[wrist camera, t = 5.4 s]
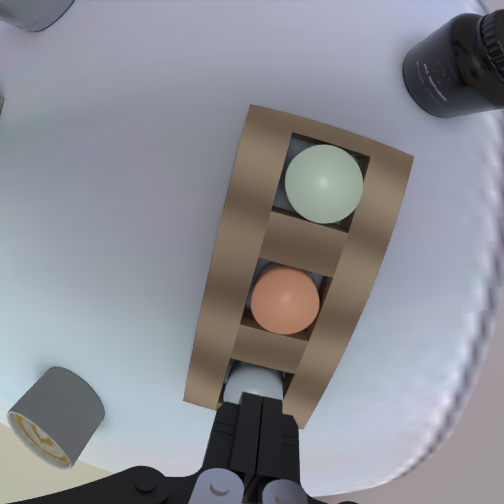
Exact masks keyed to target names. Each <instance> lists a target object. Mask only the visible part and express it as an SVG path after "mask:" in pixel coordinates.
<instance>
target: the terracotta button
mask: <svg viewBox="0 0 504 504" xmlns="http://www.w3.org/2000/svg"><path fill="white" fill-rule="evenodd" d="M251 309H252V313H253V316H254V317H255V319H256V321H257V322H258V323H259V324H260V325H261V326H262V327H263V328H265V329H266V330H268V331H271V332H273V333H277V334H293V333H296V332H299V331H301V330H303V329H305V328H306V327H308V326H309V325H310V324H311V323H312V322H313V320H314V319H315V317H316V315H317V313H318V310H319V296H318V292H317V289H316V285H315V281H314V278H313V276H312V274H311V273H310V271H306V270H302V269H299V268H295V267H291V266H288V265H284V264H280V263H277V262H273V263H270V264H269V265H267V266H266V267H264V268H263V269H262V270H261V271H260V273H259V274H258V276H257V278H256V281H255V285H254V289H253V294H252V298H251Z"/></svg>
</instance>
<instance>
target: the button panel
mask: <svg viewBox="0 0 504 504" xmlns="http://www.w3.org/2000/svg"><path fill="white" fill-rule="evenodd" d="M291 137H294V138H298V139H301V140H305V141H308V142H312V143H315V144H318V145H331V146H335V147H338V148H340V149H342V150H344V151H345V152H347V153H348V154H350V155H353V156H355V157H358V158H360V159H359V163H358V166H359V168H360V171H361V174H362V178H363V192H362V196H361V199H360V201H359V203H358V205H357V207H356V208H355V209H354V210H353V212H352V213H351V214H349V215H348V216H347V217H345V218H344V219H342V222H341V225H337V224H334V223H317V222H313V221H310V220H308V219H306V218H304V217H303V216H301V215H300V214H299V213H296V212H293V211H289V210H285V209H282V208H278V207H275V206H273V202H274V198H275V195H276V191H277V187H278V184H279V180H280V176H281V173H282V169H283V165H284V161H285V158H286V154H287V150H288V147H289V143H290V139H291ZM413 159H414V156H412V155H409V154H407V153H404V152H402V151H400V150H397V149H395V148H392V147H390V146H387V145H384V144H382V143H379V142H377V141H374V140H371V139H369V138H366V137H363V136H360V135H357V134H354V133H352V132H349V131H346V130H343V129H340V128H337V127H333V126H330V125H327V124H324V123H321V122H317V121H314V120H310V119H307V118H303V117H300V116H296V115H293V114H289V113H285V112H281V111H277V110H273V109H269V108H265V107H261V106H256V105H252V104H250V107H249V111H248V115H247V118H246V122H245V126H244V129H243V133H242V137H241V141H240V144H239V148H238V152H237V156H236V160H235V164H234V168H233V172H232V176H231V180H230V184H229V188H228V192H227V196H226V200H225V204H224V208H223V212H222V216H221V221H220V225H219V229H218V233H217V238H216V242H215V246H214V251H213V255H212V260H211V264H210V269H209V273H208V278H207V282H206V287H205V292H204V296H203V301H202V306H201V311H200V315H199V320H198V325H197V330H196V335H195V340H194V345H193V350H192V355H191V361H190V366H189V371H188V377H187V382H186V388H185V393H184V399H183V401H185V402H188V403H192V404H195V405H198V406H202V407H205V408H209V409H212V410H216V411H217V409H218V408H219V407H220V406H221V405H222V404H223V403H224V399H223V396H224V392H225V388H226V384H225V383H223V382H224V378H225V375H226V371H227V368H228V364H229V361H230V358H232V359H236V360H240V361H243V362H247V363H251V364H255V365H259V366H263V367H267V368H272V369H276V370H280V371H285V372H287V373H286V375H285V378H284V380H283V409H282V413H283V414H288V415H293V417H294V419H295V421H296V423H297V424H298V429H304V427H305V425H306V424H307V422H308V420H309V418H310V417H311V415H312V413H313V411H314V410H315V408H316V406H317V404H318V402H319V401H320V399H321V397H322V395H323V393H324V391H325V389H326V387H327V386H328V384H329V382H330V380H331V378H332V376H333V374H334V372H335V370H336V368H337V366H338V364H339V362H340V360H341V358H342V356H343V354H344V351H345V349H346V347H347V345H348V343H349V341H350V339H351V336H352V334H353V332H354V330H355V327H356V325H357V323H358V321H359V318H360V316H361V314H362V311H363V309H364V307H365V304H366V302H367V299H368V297H369V294H370V292H371V289H372V287H373V284H374V282H375V279H376V277H377V274H378V271H379V269H380V266H381V263H382V261H383V258H384V255H385V252H386V249H387V247H388V244H389V241H390V238H391V235H392V232H393V229H394V226H395V223H396V219H397V216H398V213H399V210H400V206H401V203H402V200H403V196H404V193H405V189H406V186H407V182H408V178H409V175H410V171H411V167H412V163H413ZM258 258H262V259H266V260H269V261H273V262H277V263H280V264H284V265H288V266H291V267H295V268H299V269H302V270H306V271H310V272H313V273H317V274H321V275H324V276H323V279H322V282H321V285H320V288H319V290H318V296H319V310H318V313H317V315H316V317H315V319H314V320H313V322H312V323H311V324H310V325H309V326H308V327H306V328H305V329H303V330H301V331H299V332H296V333H293V334H277V333H273V332H271V331H268V330H266V329H265V328H263V327H262V326H261V325H260V324H259V323H258V322H257V321H256V319H255V317H254V316H253V313H252V310H251V309H247V308H244V307H245V304H246V300H247V296H248V293H249V289H250V286H251V282H252V278H253V275H254V271H255V268H256V264H257V260H258Z"/></svg>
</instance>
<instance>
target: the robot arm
mask: <svg viewBox="0 0 504 504" xmlns="http://www.w3.org/2000/svg"><path fill="white" fill-rule="evenodd" d="M72 2H73V0H0V21H3V22H6V23H9V24H11V25H14V26H16V27H19V28H21V29H25V30H28V31H31V32H36V31H40V30H42V29H44V28H46V27H48V26H49V25H50V24H52V23H53V22H55V21H56V20H57V19H58V18H59V17H60V16H61V15H62V14H63V13H64V12H65V11H66V10H67V8H68V7H69V6H70V5H71V3H72ZM282 409H283V402H282V400H280V399H275V398H270V397H266V396H261V395H256V394H252V393H248V392H243V391H242V393H241V396H240V399H239V402H238V404H235V403H231V402H227V401H225V402H224V403H223V404H222V405H221V406H220V407H219V408H218V409H217V412H216V416H215V419H214V423H213V426H212V430H211V433H210V437H209V441H208V445H207V449H206V453H205V457H204V460H203V464H202V467H201V469H200V470H199V471H198V472H196V473H195V474H193V475H190V476H186V477H165V476H164V475H163V474H162V473H161V472H159V471H158V470H156V469H154V468H151V467H148V466H135V467H132V468H129V469H126V470H124V471H121V472H119V473H116V474H113V475H111V476H108V477H105V478H102V479H99V480H97V481H94V482H90V483H87V484H84V485H81V486H78V487H75V488H71V489H68V490H64V491H61V492H57V493H53V494H50V495H46V496H42V497H38V498H33V499H28V500H23V501H18V502H13V503H8V504H241V503H243V504H327V503H324V502H321V501H318V500H316V499H313V498H312V497H310V496H309V495H308V494H307V493H306V492H305V491H304V489H303V488H302V486H301V483H300V461H299V439H298V438H299V430H298V424H297V423H296V421H295V419H294V417H293V415H288V414H283V413H282ZM338 504H358V503H355V502H350V501H345V502H341V503H338Z"/></svg>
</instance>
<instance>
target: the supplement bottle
mask: <svg viewBox="0 0 504 504" xmlns="http://www.w3.org/2000/svg"><path fill="white" fill-rule="evenodd" d="M404 77H405V81H406V84H407V87H408V89H409V91H410V93H411V94H412V96H413V97H414V99H415V100H416V101H417V102H418V103H419V105H420V106H422V107H423V108H424V109H425V110H427V111H428V112H430V113H432V114H434V115H436V116H439V117H445V118H449V117H456V116H462V115H467V114H473V113H478V112H484V111H490V110H496V109H502V108H504V9H501V10H496V11H494V12H493V13H491V14H488V15H485V16H481V15H478V14H473V13H464V14H460V15H458V16H456V17H454V18H453V19H451V20H450V21H448V22H447V23H446V24H444V25H443V26H442V27H440V28H439V29H438V30H436V31H435V32H434V33H432V34H431V35H430V36H428V37H427V38H426V39H424V40H423V41H422V42H421V43H419V44H418V45H417V46H416V47H414V48H413V49H412V50H411V51H410V52H409V54H408V55H407V57H406V59H405V63H404Z"/></svg>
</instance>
